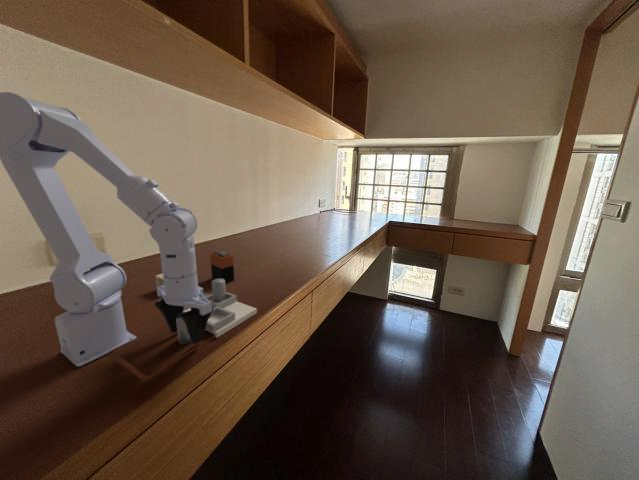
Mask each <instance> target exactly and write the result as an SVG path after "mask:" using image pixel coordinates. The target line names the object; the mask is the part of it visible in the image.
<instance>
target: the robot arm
mask: <svg viewBox="0 0 639 480" xmlns="http://www.w3.org/2000/svg"><path fill="white" fill-rule="evenodd" d="M70 152H71V153H73V154H74V155H76V156H77V157H78V158H79V159H81V160H82V161H83V162H84V163H85V164H87V165H88V166H89V167H91V168H92V169H93V170H95V171H96V173H98V174H99V175H101V176H102V177H103V178H104V179H106V180H107V181H108V182H109V183H111V185H113V186H115V187H116V196H117V199H118V200H120V201H121V202H122V203H123V204H124V205H125V206H126V207H127V208H128V209H129V210H131V212H133V213H134V214H135V215H136V216H137V217H139V218H140V219H141V221H143V222H144V223H145V224H146V225H148V226H149V227H150V228H149V229H148V230H149V234H150V236H151V238H152V239H153V240H154V241H155V242H156V243H157V245H158V250H159V254H160V263H161V272H162V273H163V280H164V285H162V286H159V287H157V286H156V293H157V297H160V298H161V299H162V300H161V299H159V300H160V301H158V300H156V301H157V302H155V303H154V306H155V307H156V308H157V309H158V310H159V311H160V313H161V315H162V316H163V317H164V320H165V321H166V325H167V326H168V328H169V330H170V332H171V333H172V334H174V333H176V332H177V323H176V316H177V315H178V314H180V313H182V312H183V311H184V310H183V309H184V307H189V308H191V311H188V312H186V313H183V314H181V315H180V317H181V318H182V319H183V320H184V322H185V324H186V326H187V328H188V331H189V336H190V340H191V344H193V345H196V344H198V343H199V342H201V341H203V340H204V337H205V333H206V332H205V331H206V330H205V328H206V324H207V321H208V319H209V317H210V315H211V313H212V311H213V306H212V302H210V301H208V300H207V299H206V298H205V297H204V295H203V294H202V293H201V292H204V288H203V287H201V286H199V279H198V269H197V258H196V257H197V256H196V248H195V240H194V238H195V237H194V236H193V235H194V234H195V233H196V231H197V229H198V220H197V218H196V217H195V215H194V214H193V212H192V211H191V210H189V209H187V208H184V207H180V204H179V203H178V202H177V201H172V200H171V199H170V197H168V196H167V195H166V194H165V193H164V192H163V191H162V190H160V189H159V185H160V184H159V183H158V182H156V180H155V179H149V178H148V177H146V176H140V175H138V176H137V175H135V174H134V173H132V171H131V170H130V169H129V168H128V167H127V166H126V165H125V164H124V163H123V162H122V161H121V159H119V158H118V157H117V156H116V155H115V154H114V153H113V152H112V151H111V150H110V149H109V148H108V147H107V146H106V145H105V143H103V142H102V141H101V139H100V138H99V137H98V136H97V135H95V133H94V132H93V130H92V127H91V126H90V124H89V123H86V122H85V121H84V120H82V119H81V118H80V116H79V115H77V113H75V112H74V111H73V110H70V109H68V108H65V107H59V106H55V105H52V104H49V103H45V102H41V101H38V100H35V99H30V98H27V97H24V96H22V95H20V94H18V93H14V92H9V91H2V92H0V162H1V164H2V165H3V167H4V169H5V171H6V173H7V175H8V176H9V178H10V180H11V183H13V185H14V187H15V188H16V190H17V191H18V194H19V196H20V197H21V199H22V200H23V202H24V205H25V206H26V208H27V209H28V211H29V213H30V214H31V216H32V218H33V220H34V221H35V223H36V225H37V227H38V228H39V230H40V232H41V234H42V235H43V237H44V240H45V241H46V242H47V244H48V246H49V248H50V249H51V251H52V253H53V254H54V257H55V258H56V260H57V262H58V263H57V265H56V266H55V267H54V269H53V271H52V273H51V275H50V276H49V281H50V282H51V284H52V286H53V290H54V292H53V293H54V295H53V296H54V299H55V301H56V303H57V304H58V305H59V306H60V307H61V308H62V309H63V310H65V312H64V313H61V314H59V315H57V316H55V317H54V325H55V328H56V329H55V330H56V332H57V337H58V340H59V345H60V349H61V350H60V352H61V354H63V355H64V356H65V357H66V358H67V359H68V360H69V361H70V362H71V363H72V364H73V365H74V366H75V367H79V368H80V367H82V366H85V364H88V363H90V362H93V361H94V360H96V359H99V358H101V357H103V356H104V355H107V354H109V353H111V352H113V350H114V349H116V348H117V349H118V348H119V347H120V346H123V345H125V344H127V343H129V342H132V341H133V340H136V339H137V336H136V335H135V334H132V333H131V332H130V331H128V330H127V326H126V319H125V313H124V308H123V301H122V298H121V296H122V295H123V292H122V289H123V288H124V287H125V285H127V284H126V283H127V280H128V279H127V275H126V272H125V270H124V269H123V268H122V266H120V265H119V264H117V263H116V262H115V260H114V258H113V257H112V255H110V254H108V253H105V252H103V251H100V250H98V249H97V247H96V245H95V243H94V241H93V240H92V238H91V236H90V233H89V231H88V230H87V228H86V226H85V224H84V222H83V220H82V218H81V217H80V214H79V212H78V210H77V209H76V207H75V204H74V202H73V201H72V200H71V197H70V195H69V194H68V192H67V190H66V188H65V186H64V184H63V183H62V180H61V179H60V176H59V175H58V172H57V170H56V169H55V167H56V165H57V163H58V162H59V160H61V159H62V158H64V156H66V155H68V153H70Z"/></svg>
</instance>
